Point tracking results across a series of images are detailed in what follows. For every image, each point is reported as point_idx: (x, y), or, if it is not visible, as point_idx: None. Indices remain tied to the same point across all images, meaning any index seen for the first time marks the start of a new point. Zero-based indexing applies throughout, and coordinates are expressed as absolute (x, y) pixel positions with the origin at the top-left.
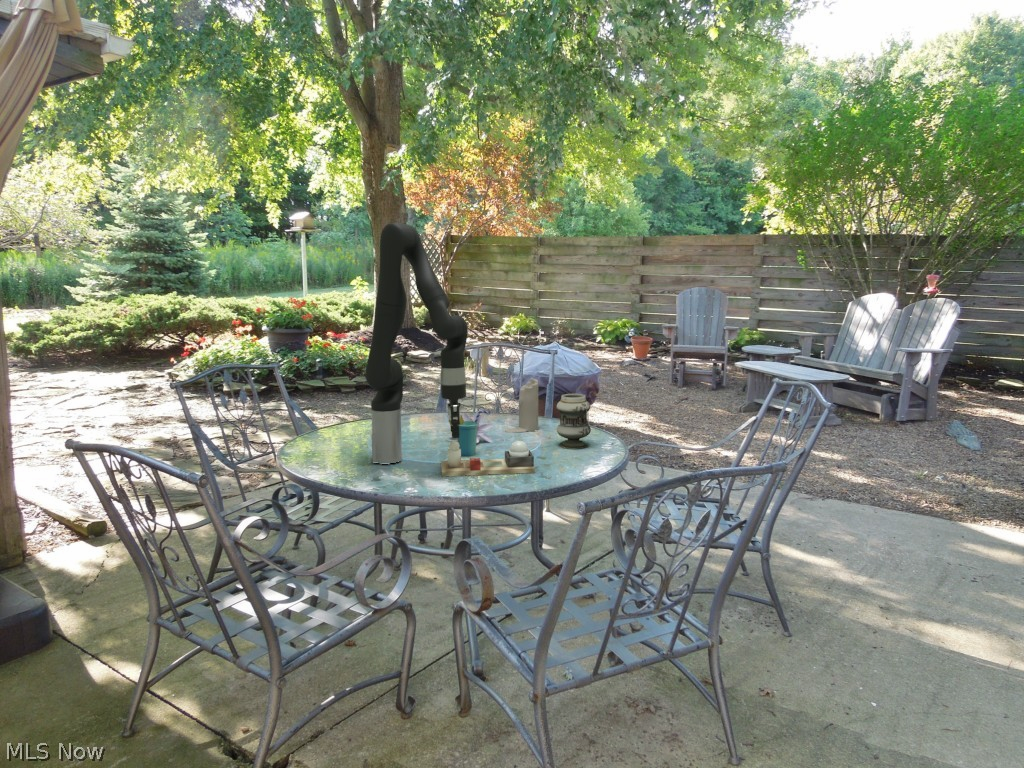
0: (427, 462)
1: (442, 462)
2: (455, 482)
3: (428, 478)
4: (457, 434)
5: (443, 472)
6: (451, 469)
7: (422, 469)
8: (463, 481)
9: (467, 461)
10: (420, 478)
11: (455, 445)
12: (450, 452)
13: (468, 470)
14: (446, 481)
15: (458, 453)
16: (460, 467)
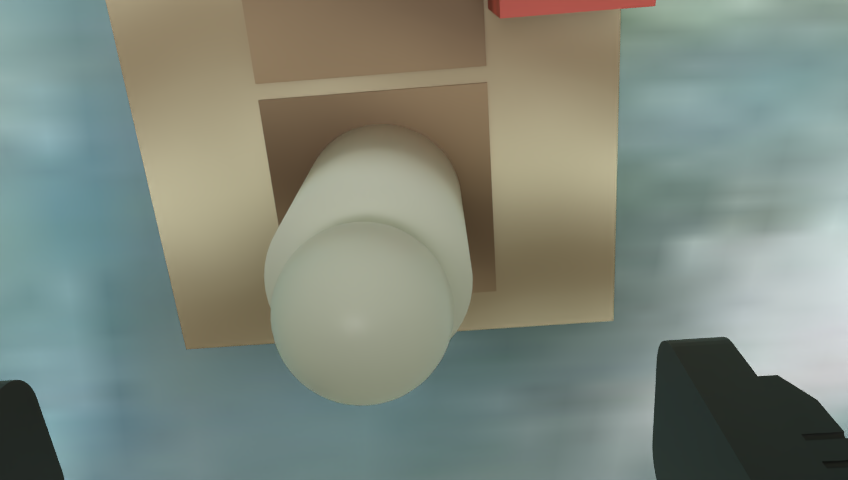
0: (93, 446)
1: (246, 332)
2: (821, 160)
3: (631, 407)
4: (822, 422)
5: (613, 303)
6: (534, 228)
7: (335, 471)
8: (808, 75)
9: (186, 44)
10: (619, 468)
11: (449, 303)
12: (453, 324)
13: (605, 25)
14: (764, 249)
15: (448, 205)
16: (472, 129)
